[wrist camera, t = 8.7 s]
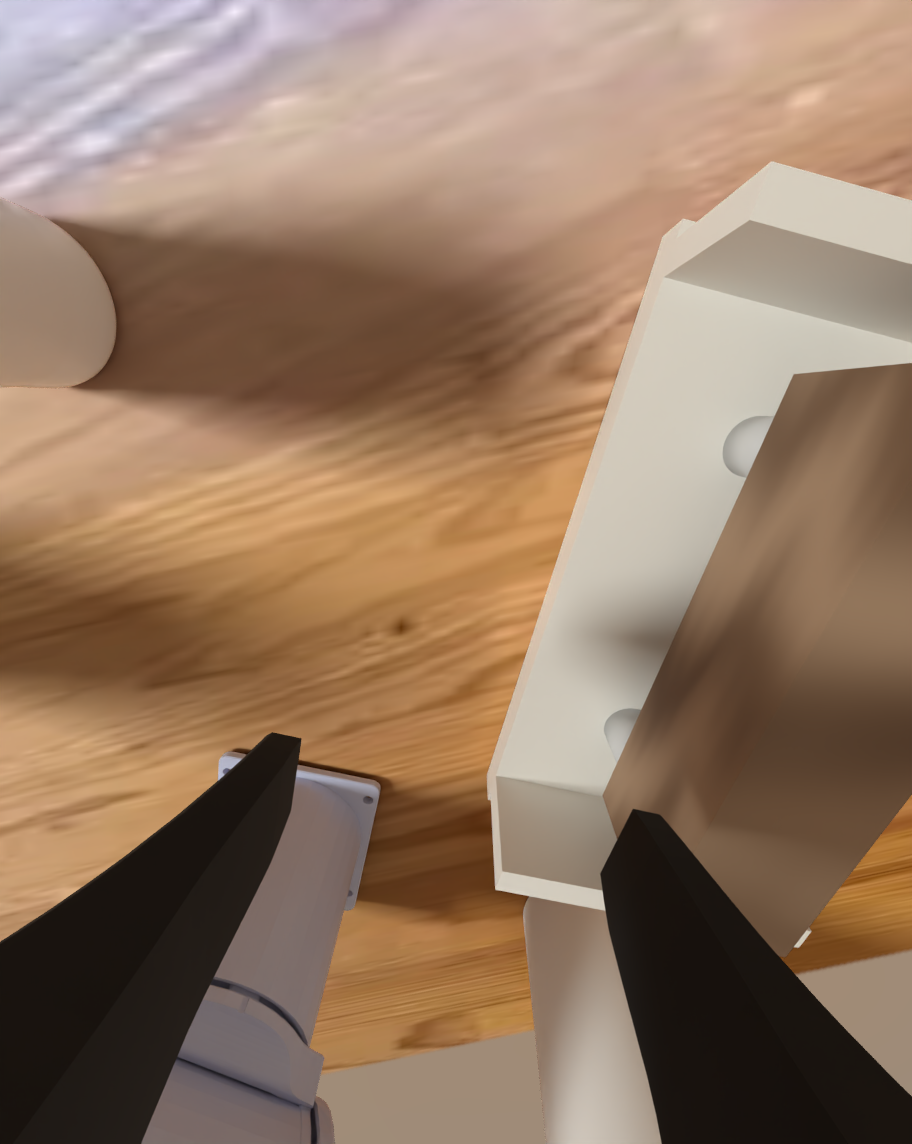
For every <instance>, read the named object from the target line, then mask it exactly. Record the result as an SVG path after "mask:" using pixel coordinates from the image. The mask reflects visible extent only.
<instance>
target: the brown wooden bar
mask: <svg viewBox="0 0 912 1144" xmlns="http://www.w3.org/2000/svg"><path fill="white" fill-rule="evenodd" d="M911 795H912V363H906V364H895V365H885V366H874V367H864V368H853V369H843V370H832V371H822V372H811V373H801V374H794V375H793V377H792V379H791V381H790V383H789V386H788V388H787V390H786V392H785V394H784V397H783V399H782V401H781V403H780V405H779V408H778V410H777V412H776V414H775V416H774V419H773V421H772V423H771V425H770V427H769V430H768V432H767V434H766V436H765V438H764V441H763V443H762V445H761V447H760V449H759V452H758V454H757V456H756V458H755V460H754V463H753V465H752V467H751V469H750V471H749V474H748V476H747V478H746V480H745V482H744V485H743V487H742V489H741V491H740V493H739V496H738V498H737V500H736V502H735V504H734V507H733V509H732V511H731V513H730V515H729V518H728V520H727V522H726V524H725V526H724V529H723V531H722V533H721V535H720V538H719V540H718V542H717V544H716V546H715V549H714V551H713V553H712V555H711V557H710V560H709V562H708V564H707V566H706V568H705V571H704V573H703V575H702V577H701V579H700V582H699V584H698V586H697V588H696V590H695V593H694V595H693V597H692V599H691V601H690V604H689V606H688V608H687V610H686V612H685V615H684V617H683V619H682V621H681V623H680V626H679V628H678V630H677V632H676V634H675V637H674V639H673V641H672V643H671V645H670V648H669V650H668V652H667V654H666V656H665V659H664V661H663V663H662V665H661V667H660V670H659V672H658V674H657V676H656V678H655V681H654V683H653V685H652V687H651V689H650V692H649V694H648V696H647V698H646V700H645V703H644V705H643V707H642V709H641V712H640V714H639V716H638V718H637V720H636V723H635V725H634V727H633V729H632V731H631V734H630V736H629V738H628V740H627V742H626V745H625V747H624V749H623V751H622V753H621V756H620V758H619V760H618V762H617V764H616V767H615V769H614V771H613V773H612V775H611V778H610V780H609V782H608V784H607V786H606V789H605V791H604V793H603V795H602V796H603V799H604V802H605V805H606V808H607V811H608V814H609V817H610V820H611V823H612V826H613V829H614V832H615V835H616V838H617V839H618V837H619V835H620V833H621V831H622V829H623V827H624V825H625V823H626V821H627V819H628V817H629V815H630V814H631V812H632V810H633V809H637V810H641V811H646V812H651V813H656V814H660V815H661V816H662V817H663V818H664V820H665V821H666V822H667V823H668V824H669V825H670V827H671V828H672V829H673V830H674V831H675V832H676V834H677V835H678V836H679V837H680V838H681V840H682V841H683V842H684V843H685V845H686V846H687V847H688V848H689V849H690V851H691V852H692V853H693V854H694V856H695V857H696V858H697V859H698V860H699V862H700V863H701V864H702V865H703V867H704V868H705V869H706V870H707V871H708V873H709V874H710V875H711V876H712V878H713V879H714V880H715V881H716V882H717V884H718V885H719V886H720V887H721V889H722V890H723V891H724V892H725V893H726V895H727V896H728V897H729V898H730V900H731V901H732V902H733V903H734V904H735V906H736V907H737V908H738V909H739V910H740V912H741V913H742V914H743V915H744V916H745V917H746V919H747V920H748V921H749V922H750V923H751V925H752V926H753V927H754V928H755V929H756V931H757V932H758V933H759V934H760V935H761V936H762V938H763V939H764V940H765V941H766V942H767V943H768V944H769V946H770V947H771V948H772V949H773V950H774V951H775V953H776V954H777V955H778V956H781V957H786V956H787V955H788V954H789V952H790V951H791V950H792V949H793V947H794V946H795V945H796V943H797V942H798V941H799V939H800V938H801V937H802V936H803V934H804V933H805V932H806V930H807V929H808V928H809V927H810V925H811V924H812V923H813V921H814V920H815V919H816V918H817V916H818V915H819V914H820V912H821V911H822V910H823V909H824V907H825V906H826V905H827V903H828V902H829V901H830V899H831V898H832V897H833V896H834V894H835V893H836V892H837V890H838V889H839V888H840V887H841V885H842V884H843V883H844V881H845V880H846V879H847V878H848V876H849V875H850V874H851V872H852V871H853V870H854V868H855V867H856V866H857V865H858V863H859V862H860V861H861V859H862V858H863V857H864V856H865V854H866V853H867V852H868V850H869V849H870V848H871V847H872V845H873V844H874V843H875V841H876V840H877V839H878V838H879V836H880V835H881V834H882V832H883V831H884V830H885V828H886V827H887V826H888V825H889V823H890V822H891V821H892V819H893V818H894V817H895V816H896V814H897V813H898V812H899V810H900V809H901V808H902V807H903V805H904V804H905V803H906V801H907V800H908V799H909V797H910V796H911Z"/></svg>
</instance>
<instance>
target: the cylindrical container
mask: <svg viewBox="0 0 912 1144" xmlns="http://www.w3.org/2000/svg"><path fill="white" fill-rule="evenodd" d="M523 921H524V931H525V941H526V950H527V960H528V970H529V980H530V990H531V1000H532V1010H533V1019H534V1029H535V1039H536V1049H537V1058H538V1069H539V1079H540V1089H541V1098H542V1107H543V1108H542V1109H543V1118H544V1128H545V1138H546V1144H662V1143H661V1138H660V1133H659V1127H658V1122H657V1117H656V1112H655V1108H654V1104H653V1100H652V1095H651V1091H650V1087H649V1082H648V1078H647V1074H646V1071H645V1067H644V1063H643V1059H642V1056H641V1052H640V1048H639V1044H638V1041H637V1037H636V1033H635V1029H634V1025H633V1022H632V1018H631V1014H630V1010H629V1007H628V1003H627V999H626V995H625V992H624V988H623V984H622V980H621V977H620V973H619V969H618V965H617V961H616V957H615V953H614V949H613V946H612V942H611V937H610V933H609V929H608V923H607V917H606V911H604V910H599V909H594V908H588V907H583V906H578V905H573V904H567V903H562V902H557V901H552V900H547V899H541V898H536V897H531V896H529V898H528V899H527V901H526V903H525V906H524V910H523Z"/></svg>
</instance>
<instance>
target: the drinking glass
mask: <svg viewBox="0 0 912 1144" xmlns="http://www.w3.org/2000/svg"><path fill="white" fill-rule="evenodd" d="M116 328H117V326H116V313H115V308H114V303H113V299H112V296H111V293H110V290H109V288H108V285H107V283H106V281H105V279H104V277H103V275H102V273H101V272H100V270H99V268H98V267H97V265H96V264H95V262H94V261H93V259H92V258H91V257H90V255H89V254H88V253H87V252H86V251H85V249H84V248H83V247H82V246H81V245H80V244H79V243H78V242H77V241H76V240H75V239H74V238H73V237H72V236H71V235H69V234H68V233H67V232H66V231H65V230H63V229H62V228H61V227H59V226H58V225H56V224H55V223H53V222H52V221H50V220H48V219H47V218H45V217H43V216H41V215H39V214H37V213H35V212H33V211H31V210H29V209H26V208H24V207H22V206H20V205H17V204H15V203H13V202H11V201H8V200H6V199H4V198H2V197H0V388H5V387H27V388H66V387H71V386H75V385H78V384H81V383H83V382H86V381H88V380H89V379H91V378H92V377H94V376H95V375H96V374H97V373H99V372H100V370H101V369H102V368H103V367H104V366H105V364H106V363H107V361H108V360H109V358H110V356H111V353H112V351H113V348H114V344H115V339H116Z"/></svg>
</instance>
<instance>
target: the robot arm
mask: <svg viewBox="0 0 912 1144" xmlns="http://www.w3.org/2000/svg"><path fill="white" fill-rule="evenodd" d="M300 746H301V738H296V737H292V736H287V735H282V734H278V733H273V732H272V733H270V734H269V735H267V736H266V737H265V738H264V739H263V740H262V741H261V742H260V743H258V744H257V745H256V746H255V747H254V748H253V749H252V750H251V751H250V752H249V753H248V754H242V753H237V752H226V753H224V754H223V756H222V757H221V758H220V760H219V772H218V781H217V782H216V783H215V784H214V785H213V786H211V787H210V788H209V789H208V790H207V791H206V792H204V793H203V794H202V795H201V796H200V797H198V798H197V799H196V800H195V801H194V802H193V803H191V804H190V805H189V806H188V807H187V808H185V809H184V810H183V811H182V812H181V813H180V814H178V815H177V816H176V817H175V818H173V819H172V820H171V821H170V822H168V823H167V824H166V825H164V826H163V827H162V828H161V829H159V830H158V831H157V832H156V833H154V834H153V835H152V836H150V837H149V838H148V839H147V840H145V841H144V842H143V843H141V844H140V845H139V846H138V847H136V848H135V849H134V850H132V851H131V852H130V853H129V854H127V855H126V856H125V857H123V858H122V859H121V860H119V861H118V862H116V863H115V864H114V865H112V866H111V867H110V868H108V869H107V870H106V871H104V872H103V873H101V874H100V875H99V876H97V877H96V878H94V879H93V880H92V881H90V882H89V883H87V884H86V885H85V886H83V887H82V888H80V889H79V890H77V891H76V892H75V893H73V894H72V895H70V896H69V897H67V898H66V899H64V900H63V901H62V902H60V903H59V904H57V905H56V906H54V907H53V908H51V909H50V910H48V911H47V912H45V913H44V914H42V915H41V916H39V917H38V918H36V919H35V920H33V921H32V922H30V923H29V924H27V925H25V926H24V927H22V928H21V929H19V930H18V931H16V932H15V933H13V934H12V935H10V936H9V937H7V938H5V939H4V940H2V941H1V942H0V1144H335V1139H334V1126H333V1121H332V1116H331V1111H330V1109H329V1107H328V1105H327V1104H326V1102H325V1101H324V1100H322V1099H321V1098H319V1097H317V1096H316V1092H317V1088H318V1083H319V1079H320V1074H321V1070H322V1066H323V1061H324V1057H323V1055H322V1054H320V1053H318V1052H316V1051H314V1050H312V1049H311V1048H309V1047H310V1043H311V1039H312V1035H313V1031H314V1027H315V1023H316V1019H317V1015H318V1011H319V1007H320V1003H321V999H322V995H323V991H324V987H325V983H326V979H327V975H328V971H329V967H330V963H331V959H332V955H333V951H334V948H335V944H336V940H337V936H338V932H339V928H340V924H341V920H342V916H343V912H344V910H351V909H353V908H354V906H355V903H356V899H357V894H358V890H359V885H360V881H361V876H362V872H363V867H364V863H365V858H366V854H367V849H368V845H369V840H370V836H371V831H372V827H373V822H374V818H375V813H376V809H377V804H378V800H379V795H380V791H381V786H380V784H379V783H378V782H377V781H375V780H371V779H366V778H361V777H356V776H351V775H347V774H342V773H337V772H332V771H327V770H322V769H317V768H312V767H307V766H302V765H298V760H299V753H300ZM228 768H229V769H228ZM230 769H231V770H230ZM366 796H369V797H372V798H368V797H366ZM600 876H601V883H602V891H603V898H604V905H605V911H606V917H607V923H608V929H609V933H610V937H611V942H612V946H613V949H614V953H615V957H616V961H617V965H618V969H619V973H620V977H621V980H622V984H623V988H624V992H625V995H626V999H627V1003H628V1007H629V1010H630V1014H631V1018H632V1022H633V1025H634V1029H635V1033H636V1037H637V1041H638V1044H639V1048H640V1052H641V1056H642V1059H643V1063H644V1067H645V1071H646V1074H647V1078H648V1082H649V1087H650V1091H651V1095H652V1100H653V1104H654V1108H655V1112H656V1117H657V1122H658V1127H659V1133H660V1138H661V1143H662V1144H912V1096H911V1095H910V1094H909V1093H907V1092H906V1091H905V1090H904V1088H903V1087H901V1086H900V1085H899V1084H898V1083H897V1082H896V1081H895V1080H894V1079H893V1078H892V1077H891V1076H890V1075H889V1074H888V1073H887V1072H886V1071H885V1070H884V1069H883V1067H882V1066H881V1065H880V1064H879V1063H877V1061H876V1060H875V1059H874V1058H873V1057H872V1056H871V1055H870V1054H869V1053H868V1052H867V1051H866V1050H865V1049H864V1048H863V1047H862V1046H861V1045H860V1044H859V1043H858V1042H857V1041H856V1040H855V1039H854V1038H853V1037H852V1036H851V1035H850V1034H849V1033H848V1032H847V1031H846V1029H845V1028H844V1027H843V1026H842V1025H841V1024H840V1023H839V1022H838V1021H837V1020H836V1019H835V1018H834V1017H833V1016H832V1015H831V1014H830V1012H829V1011H828V1010H827V1009H826V1008H825V1007H824V1006H823V1005H822V1004H821V1003H820V1002H819V1001H818V1000H817V999H816V997H815V996H814V995H813V994H812V993H811V992H810V991H809V990H808V988H807V987H806V986H805V985H804V984H803V983H802V982H801V981H800V980H799V978H798V977H797V976H796V975H795V974H794V973H793V972H792V971H791V969H790V968H789V967H788V966H787V965H786V964H785V963H784V962H783V961H782V959H781V958H780V957H779V956H778V955H777V954H776V953H775V951H774V950H773V949H772V948H771V947H770V946H769V944H768V943H767V942H766V941H765V940H764V939H763V938H762V936H761V935H760V934H759V933H758V932H757V931H756V929H755V928H754V927H753V926H752V925H751V923H750V922H749V921H748V920H747V919H746V917H745V916H744V915H743V914H742V913H741V912H740V910H739V909H738V908H737V907H736V906H735V904H734V903H733V902H732V901H731V900H730V898H729V897H728V896H727V895H726V893H725V892H724V891H723V890H722V889H721V887H720V886H719V885H718V884H717V882H716V881H715V880H714V879H713V878H712V876H711V875H710V874H709V873H708V871H707V870H706V869H705V868H704V867H703V865H702V864H701V863H700V862H699V860H698V859H697V858H696V857H695V856H694V854H693V853H692V852H691V851H690V849H689V848H688V847H687V846H686V845H685V843H684V842H683V841H682V840H681V838H680V837H679V836H678V835H677V834H676V832H675V831H674V830H673V829H672V828H671V827H670V825H669V824H668V823H667V822H666V821H665V820H664V818H663V817H662V816H661V815H660V814H656V813H651V812H646V811H641V810H637V809H633V810H632V812H631V814H630V815H629V817H628V819H627V821H626V823H625V825H624V827H623V829H622V831H621V833H620V835H619V837H618V839H617V841H616V843H615V845H614V847H613V849H612V851H611V853H610V855H609V857H608V859H607V861H606V863H605V865H604V867H603V869H602V871H601V873H600Z"/></svg>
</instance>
